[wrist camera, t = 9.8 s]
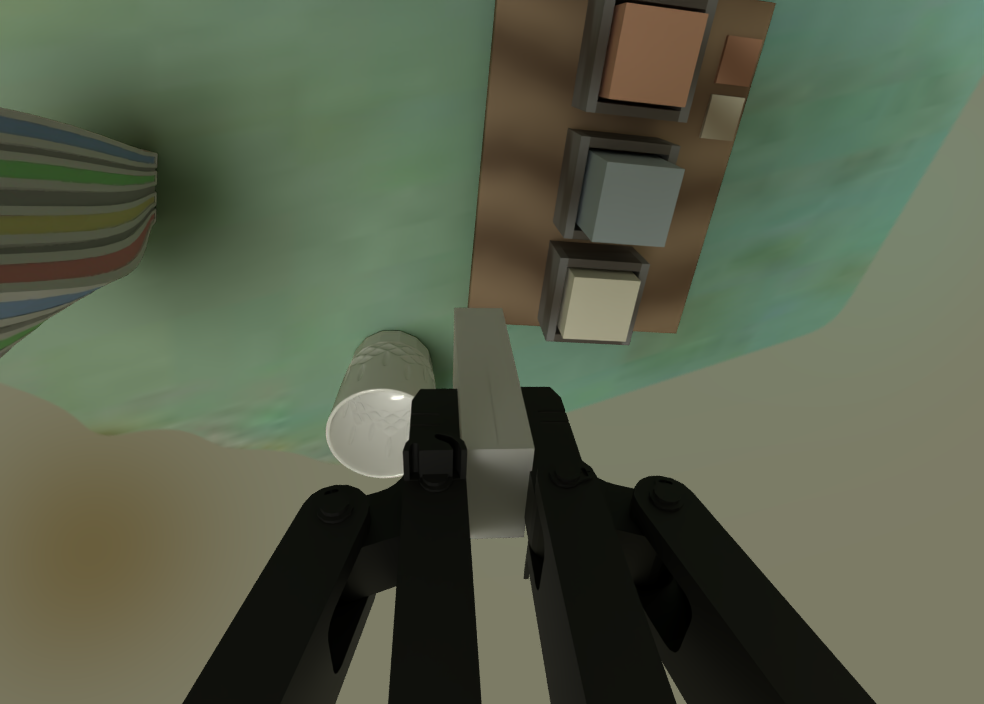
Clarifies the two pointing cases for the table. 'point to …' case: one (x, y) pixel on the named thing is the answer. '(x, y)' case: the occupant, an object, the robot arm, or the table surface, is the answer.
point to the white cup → (378, 403)
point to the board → (602, 126)
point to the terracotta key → (651, 54)
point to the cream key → (597, 304)
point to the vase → (66, 217)
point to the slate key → (628, 198)
